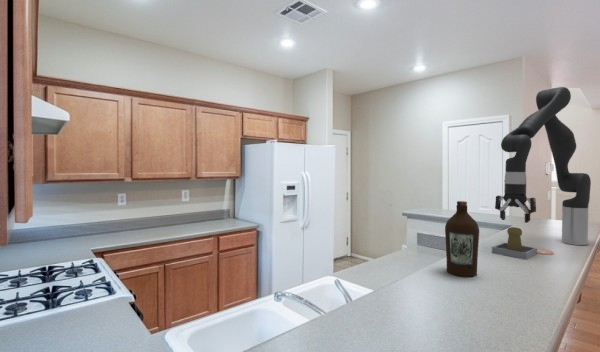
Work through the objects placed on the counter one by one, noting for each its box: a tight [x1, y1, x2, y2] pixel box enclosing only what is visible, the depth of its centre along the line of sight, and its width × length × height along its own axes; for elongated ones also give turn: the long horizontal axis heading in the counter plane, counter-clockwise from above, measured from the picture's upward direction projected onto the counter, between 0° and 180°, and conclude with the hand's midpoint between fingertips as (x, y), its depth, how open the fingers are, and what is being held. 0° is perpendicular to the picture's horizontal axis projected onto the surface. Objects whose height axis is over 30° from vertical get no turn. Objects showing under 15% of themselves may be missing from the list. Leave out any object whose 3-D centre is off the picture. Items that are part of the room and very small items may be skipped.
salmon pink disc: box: [537, 248, 554, 256], centre depth 133 cm, size 7×7×1 cm
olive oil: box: [444, 200, 480, 278], centre depth 109 cm, size 11×11×25 cm
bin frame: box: [491, 242, 538, 260], centre depth 132 cm, size 12×12×2 cm
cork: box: [506, 226, 523, 252], centre depth 132 cm, size 6×6×11 cm
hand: (514, 221), depth 132 cm, fingers open, 8 cm apart
